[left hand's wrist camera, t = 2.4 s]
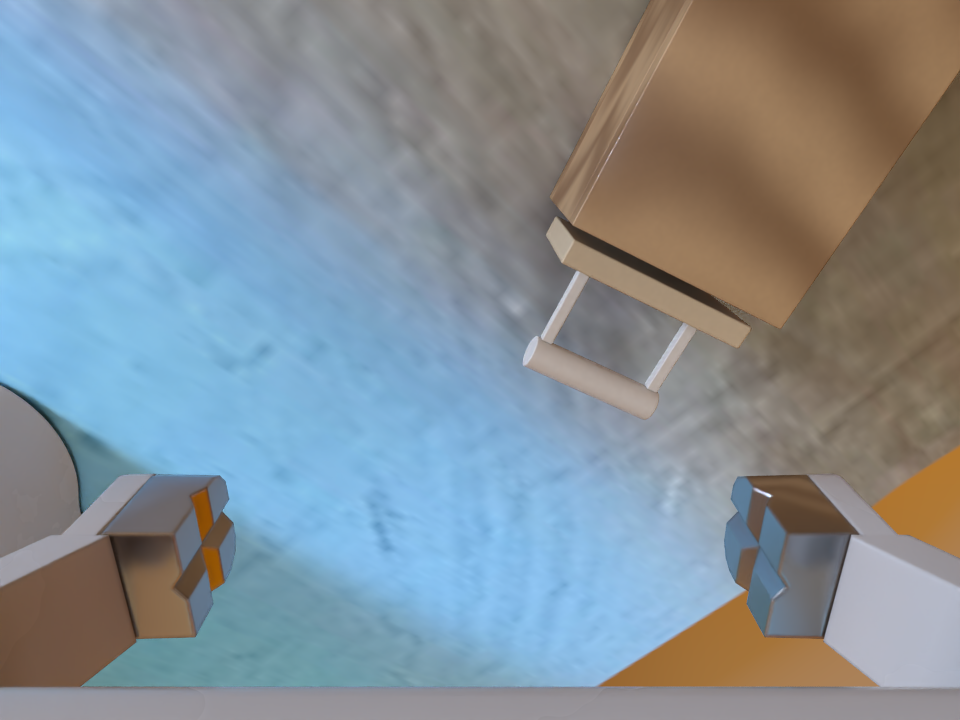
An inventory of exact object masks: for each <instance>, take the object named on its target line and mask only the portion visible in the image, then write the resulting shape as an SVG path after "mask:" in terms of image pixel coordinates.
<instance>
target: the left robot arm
mask: <svg viewBox="0 0 960 720" xmlns="http://www.w3.org/2000/svg"><path fill="white" fill-rule="evenodd" d="M228 500H229V496H228V491H227V486H226V482H225V480H224V479H223V478H222V477H221V476H220V475H170V474H158V475H156V474H127V475H122V476H119V477H118V478H117V479H116V480H115V481H114V482H113V483H112V484H111V485H110V486H109V487H108V488H107V489H106V490H105V491H104V492H103V493H102V494H101V495H100V496H99V497H98V498H97V499H96V500H95V501H94V503H93V504H92V505H91V506H90V507H89V508H88V509H87V510H86V511H85V512H84V513H83V514H81V512H80V507H79V493H78V481H77V475H76V471H75V468H74V464H73V462H72V459H71V457H70V454H69V452H68V450H67V448H66V447H65V445H64V443H63V441H62V440H61V438H60V437H59V435H58V434H57V433H56V431H55V430H54V429H53V427H52V426H51V425H50V424H49V423H48V422H47V420H46V419H45V418H44V417H43V416H42V415H41V414H40V413H39V412H38V411H36V410H35V409H34V408H33V407H32V406H31V405H29V404H28V403H27V402H26V401H24V400H23V399H22V398H20V397H19V396H17V395H16V394H14V393H13V392H11V391H10V390H8V389H6V388H5V387H3V386H1V385H0V720H960V558H958V557H956V556H954V555H951V554H949V553H947V552H945V551H943V550H940V549H938V548H936V547H934V546H932V545H930V544H927V543H925V542H923V541H921V540H919V539H916V538H914V537H912V536H910V535H898V534H897V533H896V532H895V531H894V530H893V529H892V528H891V527H890V526H889V525H888V524H887V523H886V522H885V521H884V520H883V519H882V518H881V517H880V516H879V515H878V514H877V513H876V512H875V511H874V510H873V509H872V508H871V506H870V505H869V504H868V503H867V502H866V501H865V500H864V499H863V498H862V497H861V496H860V495H859V494H858V493H857V492H856V491H855V490H854V489H853V488H852V487H851V486H850V485H849V484H848V483H847V482H846V481H845V480H844V479H843V478H842V477H841V476H838V475H836V474H809V475H779V476H741V477H737V479H736V481H735V483H734V485H733V490H732V495H731V500H732V502H733V504H734V505H735V507H736V509H737V510H738V512H737V513H736V514H735V515H734V516H733V517H732V518H731V519H730V520H729V521H728V522H727V524H726V531H725V539H724V544H725V555H726V561H727V564H728V567H729V571H730V573H731V575H732V577H733V579H734V581H735V583H737V584H738V585H740V586H741V587H743V588H744V589H746V590H747V591H749V594H748V599H747V605H748V607H749V609H750V611H751V613H752V615H753V616H754V618H755V620H756V622H757V624H758V626H759V627H760V629H761V631H762V633H763V635H764V637H775V638H812V639H824V642H825V643H826V644H827V645H828V646H830V647H831V648H832V649H833V650H835V651H836V652H837V653H838V654H840V655H841V656H842V657H844V658H845V659H846V660H847V661H848V662H850V663H851V664H852V665H853V666H855V667H856V668H857V669H858V670H860V671H861V672H862V673H864V674H865V675H866V676H867V677H869V678H870V679H871V680H872V681H874V682H875V683H876V684H877V685H879V686H880V687H80V686H82V685H83V684H84V683H85V682H87V681H88V680H89V679H90V678H92V677H93V676H94V675H95V674H97V673H98V672H99V671H100V670H102V669H103V668H104V667H106V666H107V665H108V664H109V663H111V662H112V661H113V660H114V659H116V658H117V657H118V656H119V655H121V654H122V653H123V652H124V651H126V650H127V649H128V648H129V647H131V646H132V645H133V644H134V643H136V639H149V638H184V637H196V635H197V633H198V631H199V629H200V628H201V626H202V624H203V622H204V620H205V618H206V616H207V615H208V613H209V611H210V609H211V607H212V605H213V599H212V594H211V591H213V590H214V589H216V588H217V587H219V586H220V585H222V584H223V583H225V581H226V579H227V577H228V575H229V573H230V571H231V568H232V564H233V559H234V555H235V530H234V524H233V522H232V521H231V520H230V519H229V518H228V517H227V516H226V515H225V514H224V513H223V512H222V510H223V509H224V507H225V505H226V504H227V502H228Z"/></svg>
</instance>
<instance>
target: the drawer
mask: <svg viewBox="0 0 960 720" xmlns="http://www.w3.org/2000/svg"><path fill="white" fill-rule="evenodd" d="M546 236H547V238H548V240H549V242H550V243H551V245H552V247H553V249H554V250H555V252H556V254H557V255H558V257H559V259H560V261H561V262H562V264H564V265H566V266H568V267H571V268H573V269H575V270H577V271H576V273H575V275H574V277H573V279H572V280H571V282H570V284H569V286H568V288H567V290H566V291H565V293H564V295H563V297H562V299H561V300H560V302H559V304H558V306H557V308H556V309H555V311H554V313H553V315H552V317H551V319H550V320H549V322H548V324H547V326H546V328H545V329H544V331H543V333H542V335H541V337H538V336H535V337H534V338H533V339H532V341H531V342H530V344H529V345H528V347H527V349H526V352H525V354H524V357H523V366H525V367H527V368H529V369H532V370H534V371H536V372H538V373H541V374H543V375H545V376H547V377H549V378H552V379H554V380H556V381H558V382H561V383H563V384H565V385H567V386H569V387H572V388H574V389H576V390H578V391H581V392H583V393H585V394H587V395H589V396H592V397H594V398H596V399H598V400H601V401H603V402H605V403H607V404H609V405H612V406H614V407H616V408H618V409H621V410H623V411H625V412H627V413H629V414H632V415H634V416H636V417H638V418H641V419H643V420H646V419H648V418H649V417H650V416H651V415H652V414H653V413H654V411H655V409H656V407H657V405H658V401H659V394H658V392H657V391H658V390H659V388H660V387H661V385H662V383H663V382H664V380H665V379H666V377H667V376H668V374H669V373H670V371H671V369H672V368H673V366H674V365H675V363H676V362H677V360H678V359H679V357H680V355H681V354H682V352H683V351H684V349H685V348H686V346H687V345H688V343H689V341H690V340H691V338H692V337H693V335H694V334H695V332H696V331H697V329H698V330H700V331H702V332H704V333H706V334H708V335H710V336H712V337H714V338H716V339H718V340H720V341H723V342H725V343H727V344H729V345H731V346H733V347H735V348H739V347H740V345H741V344H742V342H743V341H744V339H745V338H746V336H747V335H748V333H749V332H750V330H751V327H750V326H749V325H748V324H747V323H745V322H744V321H743V320H742V319H740V318H739V317H738V316H737V315H735V314H734V313H733V312H732V311H730V310H729V309H728V308H727V307H725V306H724V305H723V304H721V303H720V302H719V301H718V300H716V299H715V298H714V297H713V296H711V295H710V294H709V293H707V292H705V291H703V290H701V289H699V288H697V287H695V286H693V285H691V284H689V283H687V282H685V281H683V280H681V279H679V278H677V277H675V276H673V275H671V274H669V273H667V272H665V271H663V270H661V269H659V268H657V267H655V266H653V265H651V264H649V263H647V262H645V261H643V260H641V259H639V258H637V257H635V256H633V255H631V254H629V253H627V252H625V251H623V250H621V249H619V248H617V247H615V246H613V245H611V244H609V243H607V242H605V241H603V240H601V239H599V238H597V237H595V236H593V235H591V234H589V233H587V232H585V231H583V230H581V229H579V228H577V227H575V226H573V225H572V224H571V223H569V222H567V221H565V220H563V219H561V218H559V217H555V219H554V221H553V223H552V224H551V226H550V228H549V230H548V232H547V234H546ZM589 277H591V278H593V279H595V280H597V281H599V282H601V283H603V284H605V285H608V286H610V287H612V288H614V289H616V290H618V291H620V292H622V293H624V294H626V295H628V296H630V297H632V298H634V299H636V300H638V301H640V302H642V303H644V304H647V305H649V306H651V307H653V308H655V309H657V310H659V311H661V312H663V313H665V314H667V315H669V316H671V317H673V318H675V319H677V320H679V321H681V322H683V324H682V326H681V327H680V329H679V330H678V332H677V333H676V335H675V337H674V338H673V340H672V341H671V343H670V345H669V346H668V348H667V349H666V351H665V352H664V354H663V356H662V357H661V359H660V360H659V362H658V364H657V365H656V367H655V368H654V370H653V371H652V373H651V375H650V376H649V378H648V379H647V381H646V383H645V385H643V384H640V383H638V382H636V381H634V380H632V379H630V378H627V377H625V376H623V375H621V374H619V373H617V372H614V371H612V370H610V369H608V368H606V367H604V366H601V365H599V364H597V363H595V362H593V361H591V360H588V359H586V358H584V357H582V356H580V355H577V354H575V353H573V352H571V351H569V350H567V349H564V348H562V347H560V346H558V345H556V344H554V343H553V342H554V340H555V338H556V336H557V335H558V333H559V331H560V329H561V327H562V326H563V324H564V322H565V320H566V318H567V317H568V315H569V313H570V311H571V310H572V308H573V306H574V304H575V302H576V301H577V299H578V297H579V295H580V293H581V292H582V290H583V288H584V286H585V285H586V283H587V281H588V279H589Z"/></svg>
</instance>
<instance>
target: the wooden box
mask: <svg viewBox="0 0 960 720" xmlns="http://www.w3.org/2000/svg"><path fill="white" fill-rule="evenodd" d="M959 71H960V0H650V2H649V4H648V6H647V8H646V10H645V12H644V14H643V16H642V18H641V20H640V22H639V24H638V26H637V28H636V30H635V31H634V33H633V35H632V37H631V39H630V41H629V43H628V45H627V47H626V49H625V51H624V53H623V55H622V57H621V59H620V61H619V63H618V65H617V67H616V69H615V70H614V72H613V74H612V76H611V78H610V80H609V82H608V84H607V86H606V88H605V90H604V92H603V94H602V96H601V98H600V100H599V102H598V104H597V106H596V108H595V109H594V111H593V113H592V115H591V117H590V119H589V121H588V123H587V125H586V127H585V129H584V131H583V133H582V135H581V137H580V139H579V141H578V143H577V145H576V146H575V148H574V150H573V152H572V154H571V156H570V158H569V160H568V162H567V164H566V166H565V168H564V170H563V172H562V174H561V176H560V178H559V180H558V182H557V184H556V185H555V187H554V189H553V191H552V193H551V195H550V199H551V200H552V201H553V202H554V204H555V205H556V206H557V207H558V208H559V210H560V211H561V212H562V213H563V214H564V216H565V217H566V218H567V219H568V220H569V221H570V223H571V224H572V225H573V226H575V227H577V228H579V229H581V230H583V231H585V232H587V233H589V234H591V235H593V236H595V237H597V238H599V239H601V240H603V241H605V242H607V243H609V244H611V245H613V246H615V247H617V248H619V249H621V250H623V251H625V252H627V253H629V254H631V255H633V256H635V257H637V258H639V259H641V260H643V261H645V262H647V263H649V264H651V265H653V266H655V267H657V268H659V269H661V270H663V271H665V272H667V273H669V274H671V275H673V276H675V277H677V278H679V279H681V280H683V281H685V282H687V283H689V284H691V285H693V286H695V287H697V288H699V289H701V290H703V291H705V292H707V293H709V294H711V295H713V296H715V297H717V298H719V299H721V300H723V301H725V302H727V303H729V304H731V305H733V306H735V307H737V308H739V309H741V310H743V311H745V312H747V313H749V314H751V315H753V316H755V317H757V318H759V319H761V320H763V321H765V322H767V323H769V324H771V325H773V326H775V327H777V328H779V329H781V328H782V327H783V325H784V324H785V322H786V321H787V319H788V318H789V316H790V315H791V314H792V312H793V311H794V309H795V308H796V306H797V305H798V303H799V302H800V301H801V299H802V298H803V296H804V295H805V293H806V292H807V290H808V289H809V288H810V286H811V285H812V283H813V282H814V280H815V279H816V277H817V276H818V275H819V273H820V272H821V270H822V269H823V267H824V266H825V264H826V263H827V262H828V260H829V259H830V257H831V256H832V254H833V253H834V251H835V250H836V249H837V247H838V246H839V244H840V243H841V241H842V240H843V238H844V237H845V236H846V234H847V233H848V231H849V230H850V228H851V227H852V225H853V224H854V223H855V221H856V220H857V218H858V217H859V215H860V214H861V212H862V211H863V210H864V208H865V207H866V205H867V204H868V202H869V201H870V199H871V198H872V197H873V195H874V194H875V192H876V191H877V189H878V188H879V186H880V185H881V184H882V182H883V181H884V179H885V178H886V176H887V175H888V173H889V172H890V171H891V169H892V168H893V166H894V165H895V163H896V162H897V160H898V159H899V158H900V156H901V155H902V153H903V152H904V150H905V149H906V147H907V146H908V145H909V143H910V142H911V140H912V139H913V137H914V136H915V134H916V133H917V132H918V130H919V129H920V127H921V126H922V124H923V123H924V121H925V120H926V119H927V117H928V116H929V114H930V113H931V111H932V110H933V108H934V107H935V106H936V104H937V103H938V101H939V100H940V98H941V97H942V95H943V94H944V93H945V91H946V90H947V88H948V87H949V85H950V84H951V82H952V81H953V80H954V78H955V77H956V75H957V74H958V72H959Z"/></svg>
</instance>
